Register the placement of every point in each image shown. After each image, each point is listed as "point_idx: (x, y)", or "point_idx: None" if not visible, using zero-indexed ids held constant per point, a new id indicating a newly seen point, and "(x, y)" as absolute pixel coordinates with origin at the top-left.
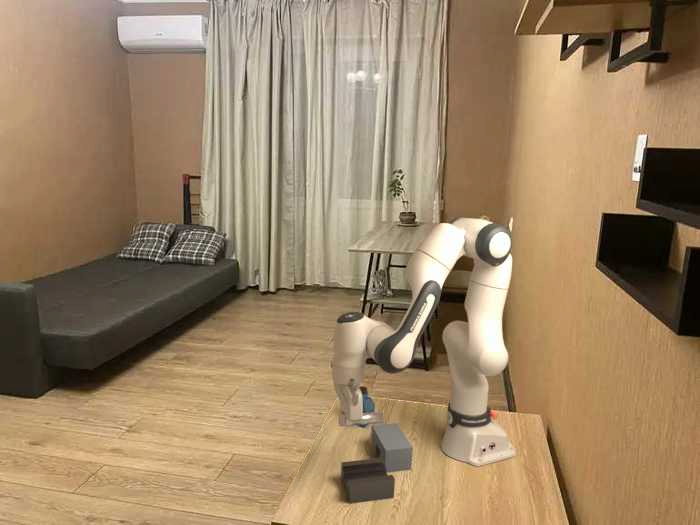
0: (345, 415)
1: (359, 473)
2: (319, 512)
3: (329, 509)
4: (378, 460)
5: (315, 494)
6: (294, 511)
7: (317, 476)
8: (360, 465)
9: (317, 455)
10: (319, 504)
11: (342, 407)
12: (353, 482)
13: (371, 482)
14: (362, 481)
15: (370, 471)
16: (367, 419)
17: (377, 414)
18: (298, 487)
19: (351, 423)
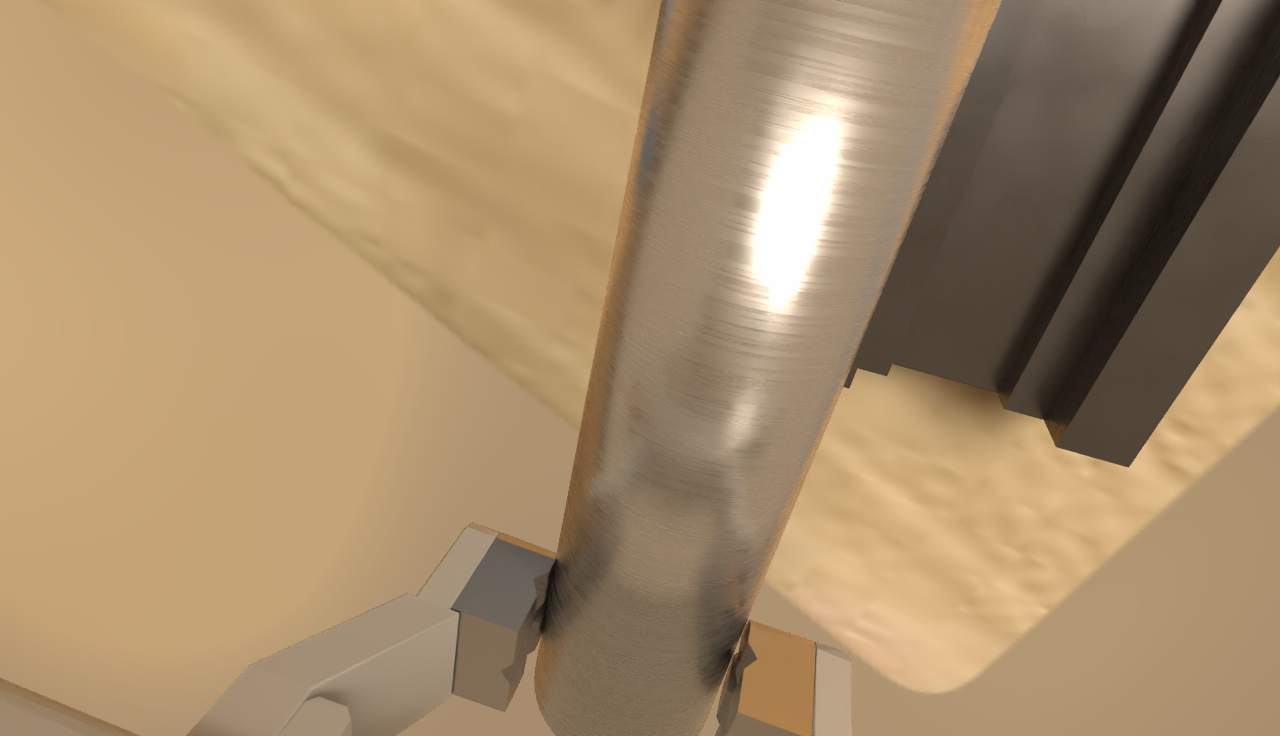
0: (623, 705)
1: (938, 243)
2: (1021, 556)
3: (1036, 502)
4: None
5: (850, 499)
6: (925, 640)
7: None
8: (908, 232)
9: (466, 306)
10: (952, 524)
11: (409, 711)
12: (1121, 431)
13: (1248, 285)
14: (1169, 357)
15: (985, 136)
16: (861, 341)
17: (906, 25)
18: None
19: (849, 676)
